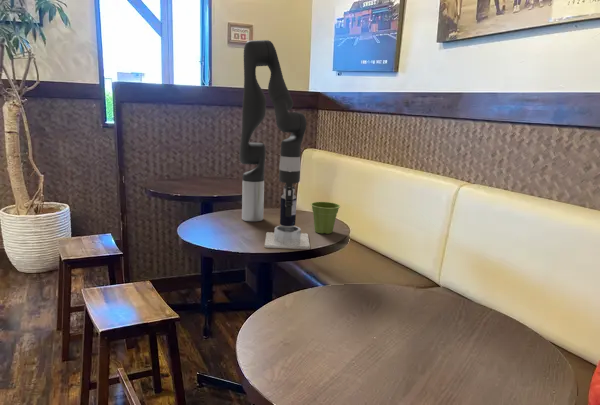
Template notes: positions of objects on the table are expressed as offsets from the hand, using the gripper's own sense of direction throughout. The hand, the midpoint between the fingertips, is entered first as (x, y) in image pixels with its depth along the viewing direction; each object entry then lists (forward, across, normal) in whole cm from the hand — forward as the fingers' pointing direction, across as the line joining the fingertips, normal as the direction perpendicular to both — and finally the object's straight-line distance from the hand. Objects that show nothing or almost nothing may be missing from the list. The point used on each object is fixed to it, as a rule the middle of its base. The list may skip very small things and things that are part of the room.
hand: (288, 214), depth 166 cm
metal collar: (+11, 0, 0) cm, 11 cm away
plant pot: (+11, -15, +15) cm, 24 cm away
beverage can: (+5, 0, 0) cm, 5 cm away
